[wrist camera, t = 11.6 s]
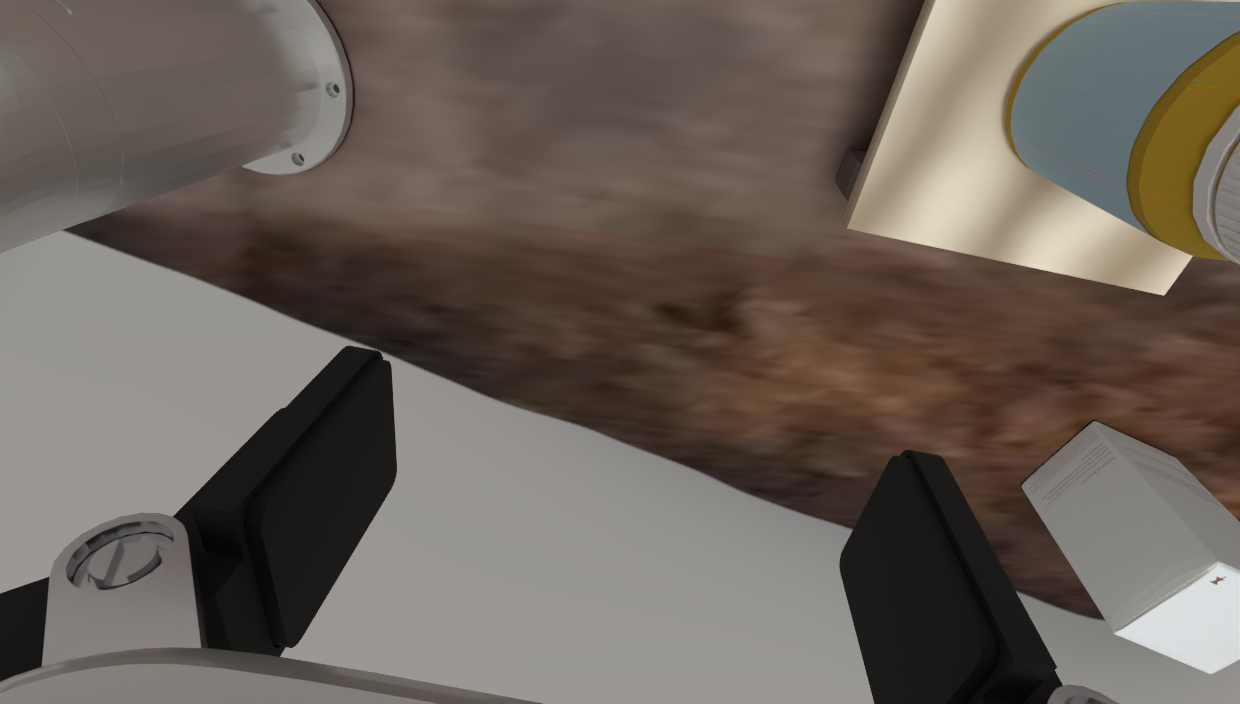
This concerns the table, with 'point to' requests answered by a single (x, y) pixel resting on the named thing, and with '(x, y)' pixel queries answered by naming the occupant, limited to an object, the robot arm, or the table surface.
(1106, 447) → the supplement box
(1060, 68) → the bottle
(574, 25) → the table surface
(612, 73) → the table surface
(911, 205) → the footstool
